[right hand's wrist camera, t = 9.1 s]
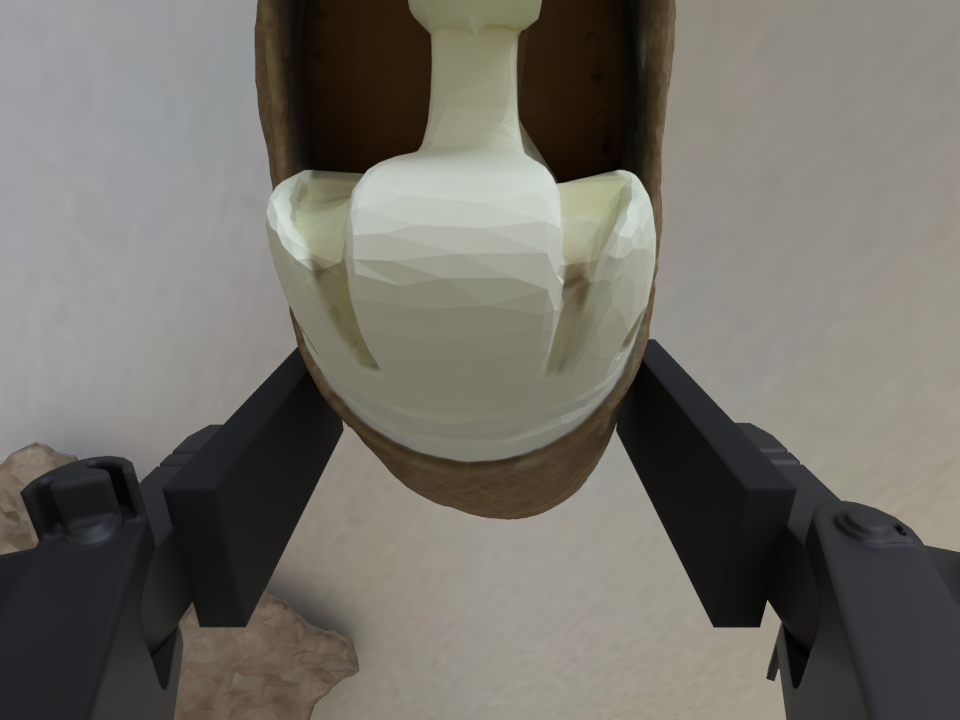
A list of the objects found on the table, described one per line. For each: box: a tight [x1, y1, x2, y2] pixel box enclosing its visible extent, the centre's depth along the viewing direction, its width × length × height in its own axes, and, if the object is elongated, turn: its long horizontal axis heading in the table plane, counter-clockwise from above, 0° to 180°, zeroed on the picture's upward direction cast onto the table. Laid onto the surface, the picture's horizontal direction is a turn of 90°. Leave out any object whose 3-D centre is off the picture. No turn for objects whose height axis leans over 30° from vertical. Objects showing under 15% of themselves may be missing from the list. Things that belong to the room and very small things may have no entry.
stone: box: [0, 442, 359, 720], centre depth 28 cm, size 21×15×6 cm
